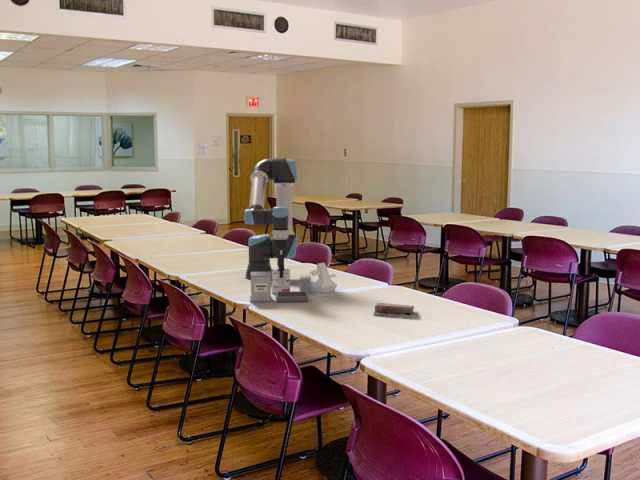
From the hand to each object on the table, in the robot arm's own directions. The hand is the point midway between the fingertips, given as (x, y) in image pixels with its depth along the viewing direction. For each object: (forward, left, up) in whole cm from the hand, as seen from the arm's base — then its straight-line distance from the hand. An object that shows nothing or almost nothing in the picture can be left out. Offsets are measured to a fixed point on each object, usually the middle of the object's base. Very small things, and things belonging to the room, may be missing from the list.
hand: (280, 281), depth 322 cm
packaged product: (+47, +47, -6) cm, 67 cm away
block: (0, +12, -6) cm, 13 cm away
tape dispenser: (-2, +22, -6) cm, 23 cm away
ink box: (0, 0, -6) cm, 6 cm away
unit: (+15, -10, -6) cm, 19 cm away
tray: (+15, +5, -6) cm, 16 cm away
